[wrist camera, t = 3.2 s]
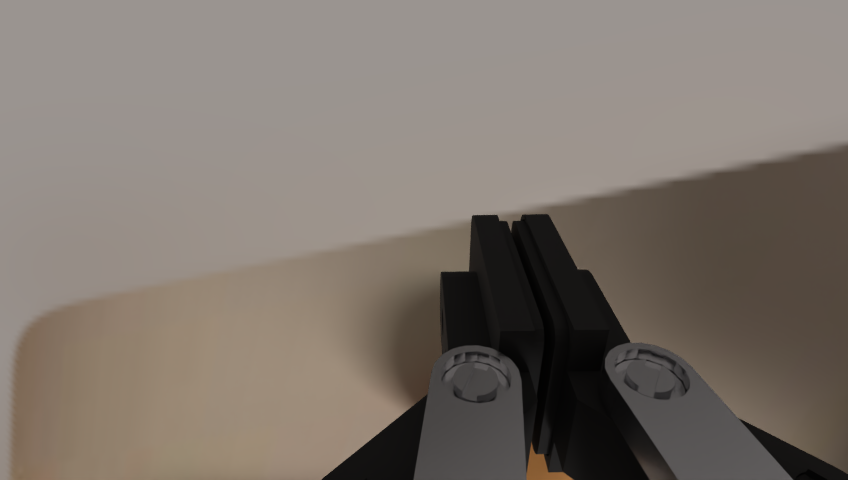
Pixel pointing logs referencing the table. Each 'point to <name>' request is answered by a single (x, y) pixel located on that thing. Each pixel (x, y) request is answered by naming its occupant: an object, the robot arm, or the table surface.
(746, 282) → the table surface
